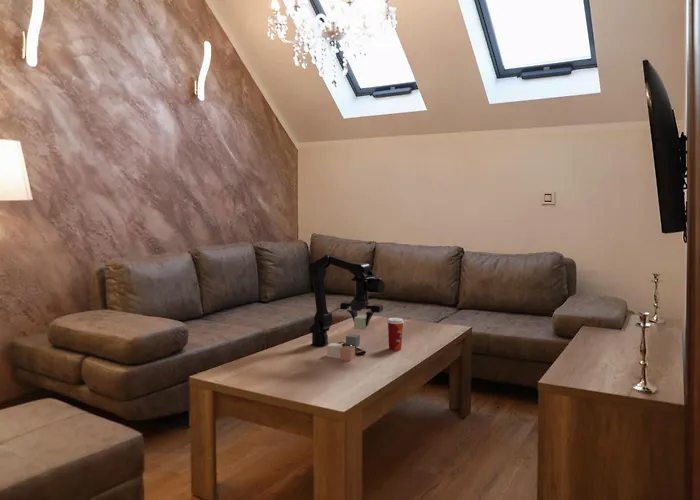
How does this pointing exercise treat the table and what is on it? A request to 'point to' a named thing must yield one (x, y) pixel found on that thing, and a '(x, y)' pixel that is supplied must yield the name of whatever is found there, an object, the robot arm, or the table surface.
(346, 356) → the terracotta cube
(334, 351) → the cream cube
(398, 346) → the paper cup
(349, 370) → the table surface
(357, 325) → the sage cube
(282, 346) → the table surface
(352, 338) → the charcoal cube
